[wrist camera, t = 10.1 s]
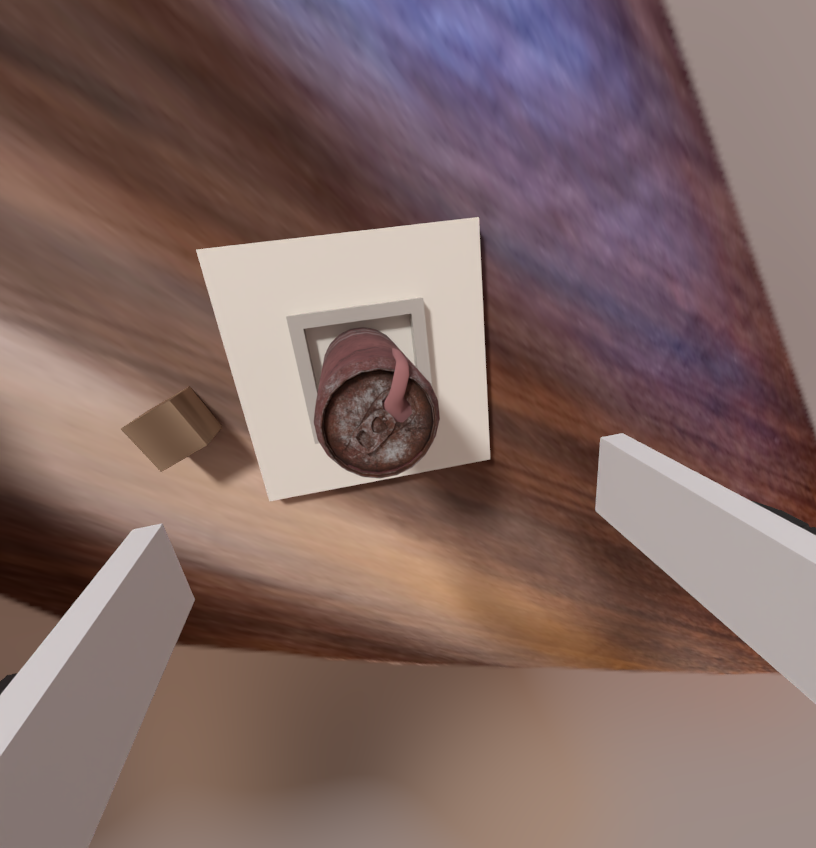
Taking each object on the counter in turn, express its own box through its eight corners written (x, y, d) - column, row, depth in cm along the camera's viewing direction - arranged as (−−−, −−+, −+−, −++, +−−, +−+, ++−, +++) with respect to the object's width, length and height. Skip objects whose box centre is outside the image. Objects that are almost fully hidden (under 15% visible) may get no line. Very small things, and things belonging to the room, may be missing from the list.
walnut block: (181, 450, 32) (161, 471, 29) (146, 411, 31) (120, 429, 27) (222, 426, 32) (207, 445, 28) (189, 386, 31) (169, 400, 27)
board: (272, 492, 35) (267, 508, 32) (203, 251, 28) (189, 248, 25) (484, 452, 37) (495, 465, 35) (472, 220, 30) (484, 214, 27)
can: (408, 331, 30) (459, 368, 17) (392, 407, 32) (428, 491, 19) (330, 315, 29) (323, 343, 16) (319, 396, 31) (305, 478, 18)
